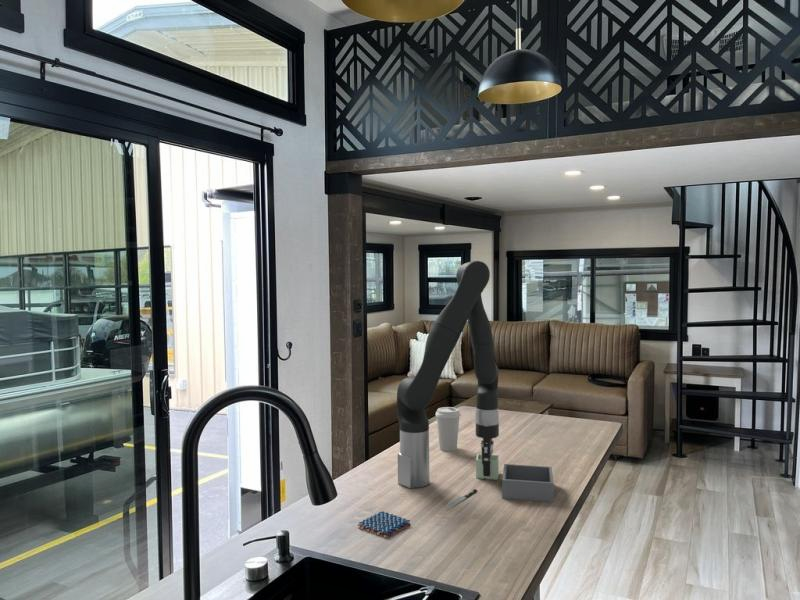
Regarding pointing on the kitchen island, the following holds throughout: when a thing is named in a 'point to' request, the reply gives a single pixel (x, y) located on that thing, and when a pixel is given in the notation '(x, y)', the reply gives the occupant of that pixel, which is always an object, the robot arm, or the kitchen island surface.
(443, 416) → the coffee cup
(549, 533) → the kitchen island surface
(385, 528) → the woven mat
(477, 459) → the sage crate
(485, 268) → the robot arm
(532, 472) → the charcoal crate
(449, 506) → the chef's knife
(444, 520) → the kitchen island surface
